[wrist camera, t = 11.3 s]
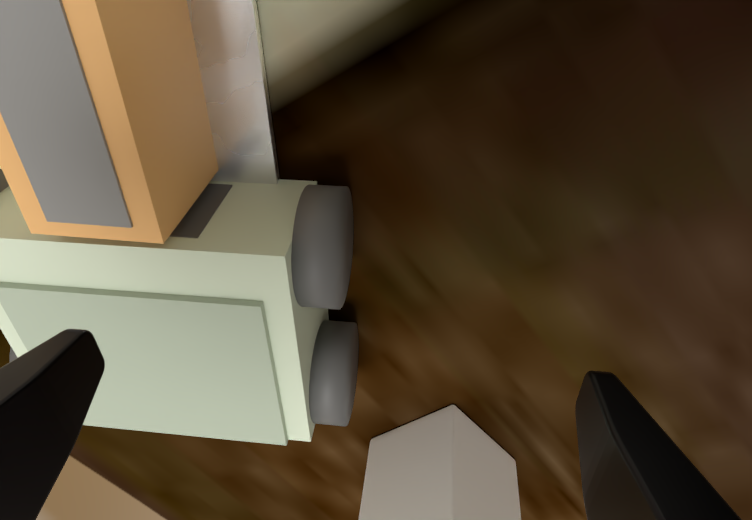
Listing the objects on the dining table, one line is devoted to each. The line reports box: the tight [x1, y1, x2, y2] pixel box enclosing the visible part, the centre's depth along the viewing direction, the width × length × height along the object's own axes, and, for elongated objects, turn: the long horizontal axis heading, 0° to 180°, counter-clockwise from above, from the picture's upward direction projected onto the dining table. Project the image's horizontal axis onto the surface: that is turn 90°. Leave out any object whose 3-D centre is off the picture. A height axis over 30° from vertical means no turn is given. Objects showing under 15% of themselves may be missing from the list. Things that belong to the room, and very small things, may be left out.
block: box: [0, 0, 219, 244], centre depth 17 cm, size 8×4×5 cm, turn 0°
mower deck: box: [0, 169, 359, 445], centre depth 23 cm, size 15×12×5 cm
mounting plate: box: [187, 0, 280, 184], centre depth 19 cm, size 9×8×1 cm
